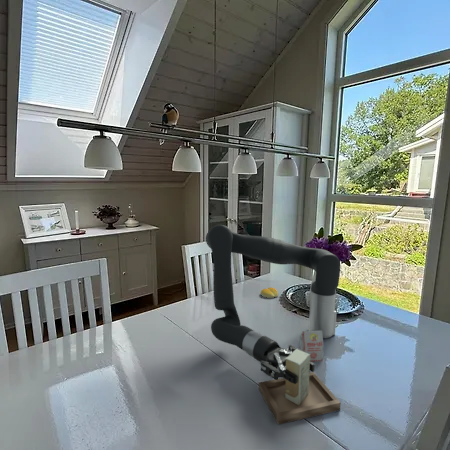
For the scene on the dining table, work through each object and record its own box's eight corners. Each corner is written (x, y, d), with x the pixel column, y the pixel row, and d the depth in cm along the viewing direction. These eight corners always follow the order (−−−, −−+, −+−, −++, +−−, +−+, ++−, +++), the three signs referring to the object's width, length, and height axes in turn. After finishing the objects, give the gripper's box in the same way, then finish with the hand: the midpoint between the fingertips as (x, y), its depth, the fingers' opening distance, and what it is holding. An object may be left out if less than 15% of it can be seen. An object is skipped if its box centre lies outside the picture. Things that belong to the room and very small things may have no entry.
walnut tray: (313, 378, 92) (313, 371, 91) (340, 410, 79) (340, 402, 79) (258, 389, 87) (258, 382, 86) (278, 424, 74) (278, 416, 74)
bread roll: (257, 294, 157) (258, 287, 157) (272, 291, 161) (272, 284, 160) (266, 300, 150) (266, 292, 149) (281, 297, 153) (281, 290, 153)
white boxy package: (299, 355, 103) (300, 328, 102) (318, 354, 104) (319, 328, 102) (302, 361, 100) (304, 334, 98) (322, 361, 100) (324, 333, 99)
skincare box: (295, 386, 87) (296, 347, 85) (309, 393, 84) (311, 353, 82) (284, 398, 82) (285, 357, 80) (298, 406, 79) (299, 364, 77)
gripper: (244, 344, 87) (289, 372, 75) (275, 328, 96) (321, 351, 84) (243, 367, 88) (288, 399, 76) (275, 349, 97) (319, 375, 85)
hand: (305, 374), depth 80 cm, fingers open, 7 cm apart
